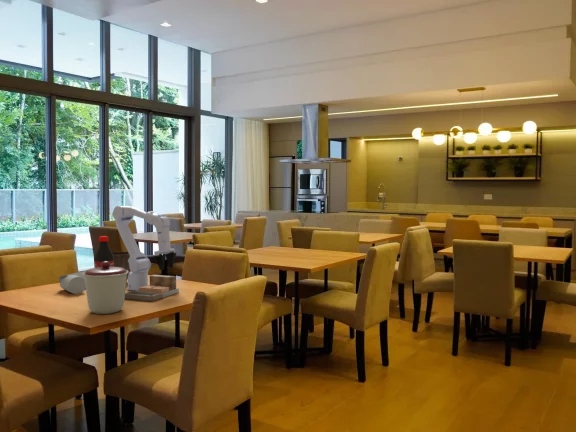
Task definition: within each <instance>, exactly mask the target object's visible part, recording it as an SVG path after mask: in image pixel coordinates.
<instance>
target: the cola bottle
mask: <svg viewBox="0 0 576 432" xmlns="http://www.w3.org/2000/svg"><path fill="white" fill-rule="evenodd" d="M109 241H110V240H109V236H107V235H100V236H99V237H98V243H99V245H98V247H97V249H96V252H95V255H94V257H93V261H94V263H93V264H94V267H93V268H98V267H102V266H101V263H102V262H104V261H108V262H109V263H110V267H114V257H113V254H112V252H113V251H112V250H111V248H110V246H109Z"/></svg>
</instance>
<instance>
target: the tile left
mask: <svg viewBox="0 0 576 432" xmlns="http://www.w3.org/2000/svg"><path fill="white" fill-rule="evenodd" d="M154 287H157V286H150V284H149V285H145V286H142V287H139V291H143V292H151V288H154Z"/></svg>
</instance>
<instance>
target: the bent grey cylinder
mask: <svg viewBox="0 0 576 432" xmlns="http://www.w3.org/2000/svg"><path fill="white" fill-rule="evenodd" d="M86 271H87V270H82V271H77V272H74V273H69V274H64V275H60V276H59V277H58V282H59V287H60V288H61V289H63V290H65V291H67V292H68V293H71V294H74V295H77V294H78V295H79V293H80V294H81V293H83V292H84V291H86V286H85V278H84V276H83V273H84V272H86Z"/></svg>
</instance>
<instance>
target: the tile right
mask: <svg viewBox="0 0 576 432" xmlns="http://www.w3.org/2000/svg"><path fill="white" fill-rule="evenodd" d="M167 291H169V287H162V286H157V287H154V288H151V292H154V293H164V292H167Z"/></svg>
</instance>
